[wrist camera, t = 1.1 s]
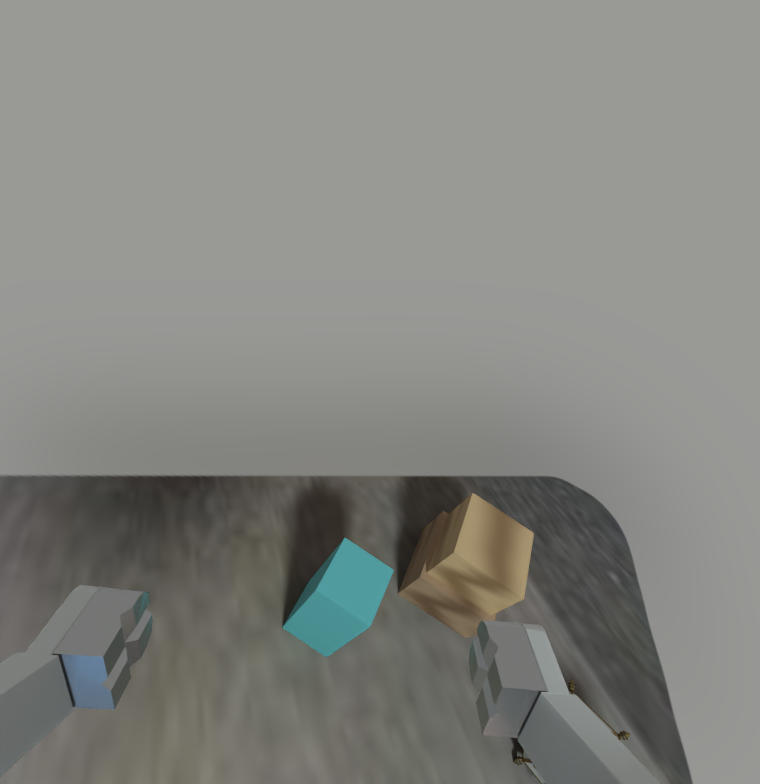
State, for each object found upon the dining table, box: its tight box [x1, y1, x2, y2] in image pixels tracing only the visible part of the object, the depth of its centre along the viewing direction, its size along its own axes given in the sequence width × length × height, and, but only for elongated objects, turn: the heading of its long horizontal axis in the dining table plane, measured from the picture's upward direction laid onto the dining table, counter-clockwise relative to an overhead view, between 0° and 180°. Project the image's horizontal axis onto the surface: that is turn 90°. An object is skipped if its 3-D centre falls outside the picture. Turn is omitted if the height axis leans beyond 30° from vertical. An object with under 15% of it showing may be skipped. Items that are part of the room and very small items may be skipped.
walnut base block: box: [398, 511, 496, 639], centre depth 43 cm, size 8×8×5 cm
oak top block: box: [427, 493, 534, 616], centre depth 40 cm, size 7×7×5 cm
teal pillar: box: [282, 538, 394, 657], centre depth 34 cm, size 4×4×10 cm
